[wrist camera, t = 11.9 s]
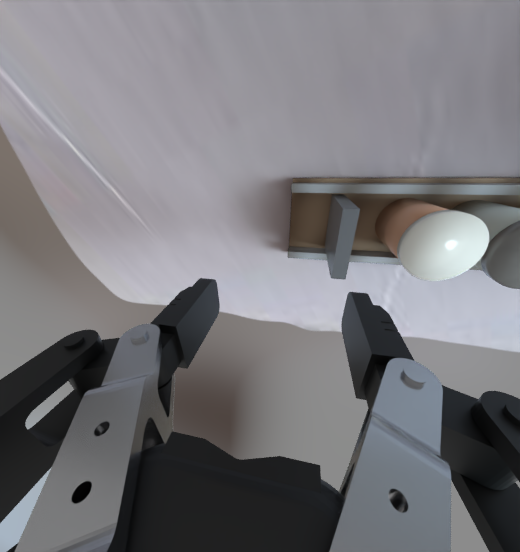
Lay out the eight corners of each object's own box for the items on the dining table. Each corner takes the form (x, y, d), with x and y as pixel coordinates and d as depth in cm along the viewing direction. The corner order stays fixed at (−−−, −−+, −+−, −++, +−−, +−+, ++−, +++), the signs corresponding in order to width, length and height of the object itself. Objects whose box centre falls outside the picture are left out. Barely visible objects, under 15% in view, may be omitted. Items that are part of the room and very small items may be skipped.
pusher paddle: (343, 194, 22) (360, 209, 15) (334, 247, 25) (345, 279, 18) (332, 194, 23) (343, 208, 16) (324, 246, 25) (331, 278, 19)
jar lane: (608, 177, 19) (722, 184, 14) (543, 267, 23) (611, 298, 18) (293, 178, 24) (289, 182, 18) (289, 252, 28) (285, 272, 23)
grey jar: (512, 198, 20) (621, 218, 13) (483, 252, 23) (561, 292, 16) (447, 197, 21) (516, 216, 14) (426, 249, 24) (476, 285, 17)
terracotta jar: (380, 196, 22) (415, 211, 15) (439, 196, 21) (505, 213, 14) (368, 245, 25) (393, 278, 18) (420, 248, 24) (468, 283, 17)
